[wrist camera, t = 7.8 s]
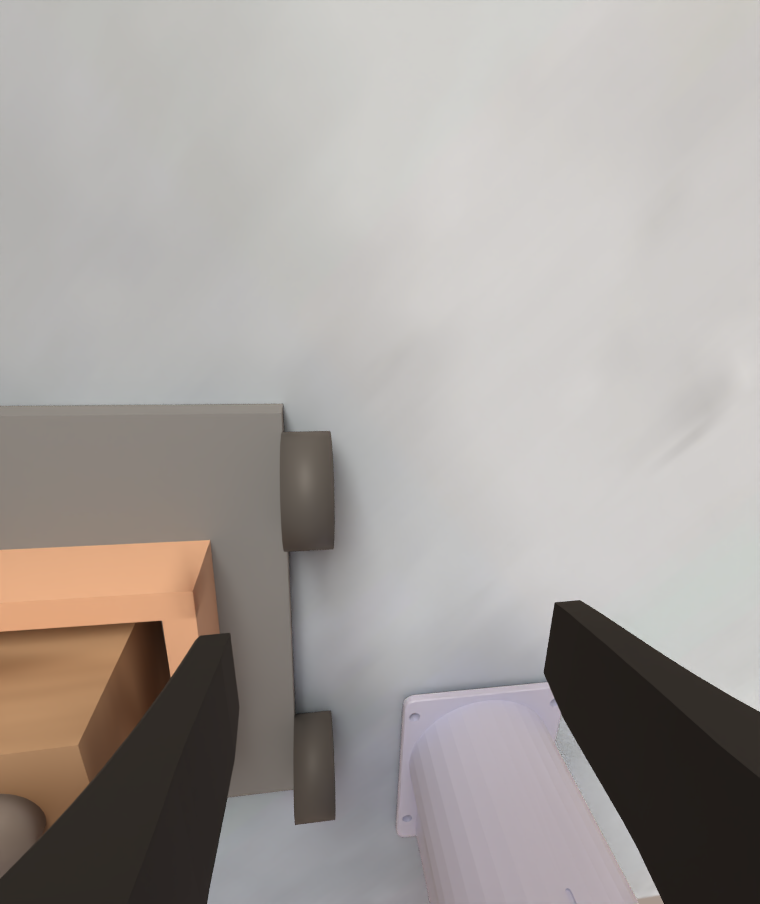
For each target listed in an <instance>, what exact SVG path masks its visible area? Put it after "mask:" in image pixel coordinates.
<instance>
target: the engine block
mask: <svg viewBox="0 0 760 904" xmlns="http://www.w3.org/2000/svg"><path fill="white" fill-rule="evenodd" d="M170 678H171V676H170V669H169V663H168V656H167V650H166V645H165V640H164V635H163V630H162V625H161V621H148V622H133V623H119V624H104V625H89V626H75V627H60V628H46V629H31V630H17V631H2V632H0V878H1V877H2V876H3V875H4V874H5V873H6V872H7V871H8V870H9V869H10V868H11V867H12V866H13V865H14V864H15V863H16V862H17V861H18V860H19V859H20V858H21V857H22V856H23V855H24V854H25V853H26V852H27V851H28V850H29V849H30V848H31V847H32V845H33V844H34V843H35V842H36V841H37V840H38V839H39V838H40V837H41V836H42V835H43V834H44V833H45V832H46V831H47V830H48V829H49V828H50V827H51V826H52V825H53V824H54V822H55V821H56V820H57V819H58V818H59V817H60V816H61V815H62V814H63V813H64V811H65V810H66V809H67V808H68V807H69V806H70V805H71V804H72V803H73V802H74V800H75V799H76V798H77V797H78V796H79V795H80V794H81V793H82V791H83V790H84V789H85V788H86V787H87V786H88V784H89V783H90V782H91V781H92V780H93V779H94V777H95V776H96V775H97V774H98V773H99V772H100V770H101V769H102V768H103V767H104V765H105V764H106V763H107V762H108V760H109V759H110V758H111V757H112V755H113V754H114V753H115V752H116V750H117V749H118V748H119V747H120V745H121V744H122V743H123V742H124V740H125V739H126V738H127V737H128V735H129V734H130V733H131V732H132V730H133V729H134V728H135V726H136V725H137V724H138V723H139V721H140V720H141V718H142V717H143V716H144V714H145V713H146V712H147V710H148V709H149V707H150V706H151V705H152V703H153V702H154V701H155V699H156V698H157V697H158V695H159V694H160V692H161V691H162V690H163V688H164V687H165V685H166V684H167V682H168V681H169V679H170Z"/></svg>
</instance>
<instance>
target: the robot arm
mask: <svg viewBox="0 0 760 904" xmlns="http://www.w3.org/2000/svg"><path fill="white" fill-rule="evenodd" d="M544 674H545V677H546V679H547V682H543V683H533V684H522V685H512V686H501V687H491V688H481V689H470V690H460V691H450V692H439V693H429V694H418V695H412V696H409V697H407V698H406V699H405V700H404V703H403V714H402V731H401V747H400V763H399V780H398V796H397V813H396V830H397V834H398V835H399V836H401V837H410V836H417V841H418V846H419V851H420V856H421V862H422V867H423V872H424V877H425V882H426V887H427V892H428V897H429V902H430V904H639V902H638V900H637V898H636V897H635V895H634V893H633V891H632V889H631V887H630V885H629V883H628V881H627V879H626V878H625V876H624V874H623V872H622V870H621V868H620V866H619V864H618V862H617V860H616V859H615V857H614V855H613V853H612V851H611V849H610V847H609V845H608V843H607V842H606V840H605V838H604V836H603V834H602V832H601V830H600V828H599V826H598V824H597V823H596V821H595V819H594V817H593V815H592V813H591V811H590V809H589V807H588V805H587V804H586V802H585V800H584V798H583V796H582V794H581V792H580V790H579V788H578V786H577V785H576V783H575V781H574V779H573V777H572V775H571V773H570V771H569V769H568V767H567V766H566V764H565V762H564V760H563V758H562V756H561V754H560V752H559V750H558V748H557V747H556V745H555V741H556V736H557V731H558V726H559V722H560V717H561V714H562V716H563V718H564V720H565V722H566V724H567V725H568V727H569V729H570V731H571V733H572V734H573V736H574V738H575V740H576V741H577V743H578V745H579V746H580V748H581V750H582V752H583V753H584V755H585V757H586V759H587V760H588V762H589V764H590V765H591V767H592V769H593V771H594V772H595V774H596V776H597V777H598V779H599V781H600V783H601V784H602V786H603V788H604V789H605V791H606V793H607V795H608V796H609V798H610V800H611V801H612V803H613V805H614V807H615V808H616V810H617V812H618V813H619V815H620V817H621V819H622V820H623V822H624V824H625V826H626V828H627V829H628V831H629V833H630V835H631V837H632V839H633V841H634V842H635V844H636V846H637V848H638V850H639V852H640V854H641V856H642V859H643V861H644V863H645V865H646V867H647V869H648V871H649V873H650V875H651V877H652V880H653V882H654V884H655V886H656V888H657V890H658V892H659V894H660V896H661V898H662V900H663V903H664V904H760V712H759V711H757V710H755V709H753V708H752V707H750V706H748V705H746V704H744V703H743V702H741V701H739V700H737V699H735V698H734V697H732V696H730V695H728V694H727V693H725V692H723V691H722V690H720V689H718V688H717V687H715V686H713V685H712V684H710V683H708V682H706V681H705V680H703V679H701V678H700V677H698V676H696V675H695V674H693V673H692V672H690V671H688V670H687V669H685V668H684V667H682V666H680V665H679V664H677V663H676V662H674V661H672V660H671V659H669V658H668V657H666V656H665V655H663V654H662V653H660V652H659V651H657V650H655V649H654V648H652V647H651V646H649V645H648V644H646V643H645V642H643V641H642V640H640V639H639V638H637V637H636V636H634V635H633V634H631V633H630V632H628V631H627V630H625V629H624V628H622V627H621V626H619V625H618V624H616V623H615V622H613V621H612V620H610V619H609V618H607V617H606V616H604V615H603V614H601V613H600V612H598V611H596V610H595V609H593V608H592V607H590V606H589V605H587V604H585V603H584V602H582V601H580V600H577V601H567V602H556V603H555V604H554V611H553V617H552V623H551V630H550V636H549V642H548V648H547V655H546V661H545V667H544ZM239 708H240V706H239V699H238V691H237V683H236V675H235V667H234V659H233V651H232V643H231V635H230V633H222V634H212V635H201V636H199V637H198V638H197V639H196V640H195V641H194V643H193V645H192V646H191V648H190V649H189V651H188V652H187V654H186V655H185V657H184V659H183V660H182V662H181V663H180V665H179V666H178V668H177V669H176V671H175V672H174V674H173V675H172V677H171V678H170V679H169V681H168V682H167V684H166V685H165V687H164V688H163V690H162V691H161V692H160V694H159V695H158V697H157V698H156V699H155V701H154V702H153V703H152V705H151V706H150V707H149V709H148V710H147V712H146V713H145V714H144V716H143V717H142V718H141V720H140V721H139V723H138V724H137V725H136V726H135V728H134V729H133V730H132V732H131V733H130V734H129V735H128V737H127V738H126V739H125V740H124V742H123V743H122V744H121V745H120V747H119V748H118V749H117V750H116V752H115V753H114V754H113V755H112V757H111V758H110V759H109V760H108V762H107V763H106V764H105V765H104V767H103V768H102V769H101V770H100V772H99V773H98V774H97V775H96V776H95V777H94V779H93V780H92V781H91V782H90V783H89V784H88V786H87V787H86V788H85V789H84V790H83V791H82V793H81V794H80V795H79V796H78V797H77V798H76V799H75V800H74V802H73V803H72V804H71V805H70V806H69V807H68V808H67V809H66V810H65V811H64V813H63V814H62V815H61V816H60V817H59V818H58V819H57V820H56V821H55V822H54V824H53V825H52V826H51V827H50V828H49V829H48V830H47V831H46V832H45V833H44V834H43V835H42V836H41V837H40V838H39V839H38V840H37V841H36V842H35V843H34V844H33V845H32V847H31V848H30V849H29V850H28V851H27V852H26V853H25V854H24V855H23V856H22V857H21V858H20V859H19V860H18V861H17V862H16V863H15V864H14V865H13V866H12V867H11V868H10V869H9V870H8V871H7V872H6V873H5V874H4V875H3V876H2V877H1V878H0V904H207V900H208V894H209V888H210V883H211V878H212V873H213V868H214V863H215V858H216V853H217V848H218V843H219V837H220V832H221V827H222V822H223V817H224V812H225V807H226V802H227V797H228V792H229V787H230V781H231V776H232V771H233V766H234V760H235V752H236V742H237V731H238V719H239ZM413 713H415V714H413Z"/></svg>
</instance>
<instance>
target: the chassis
mask: <svg viewBox="0 0 760 904" xmlns="http://www.w3.org/2000/svg"><path fill="white" fill-rule="evenodd" d="M334 525H335V515H334V472H333V453H332V440H331V433H330V431H309V432H284V421H283V404H203V405H82V406H0V632H2V631H17V630H31V629H46V628H60V627H75V626H89V625H104V624H119V623H133V622H148V621H161V625H162V630H163V635H164V640H165V645H166V650H167V656H168V663H169V669H170V676H171V677H172V675H173V674H174V672H175V671H176V669H177V668H178V666H179V665H180V663H181V662H182V660H183V659H184V657H185V655H186V654H187V652H188V651H189V649H190V648H191V646H192V645H193V643H194V641H195V640H196V639H197V638H198V637H199V636H201V635H212V634H222V633H230V635H231V643H232V651H233V659H234V667H235V675H236V683H237V691H238V699H239V706H240V708H239V719H238V731H237V742H236V752H235V760H234V766H233V771H232V776H231V781H230V787H229V792H228V797H235V796H244V795H252V794H260V793H269V792H277V791H285V790H293V789H294V818H295V825H298V824H306V823H314V822H321V821H329V820H335V773H334V749H333V730H332V716H331V711H322V712H312V713H302V714H295V693H294V668H293V643H292V619H291V594H290V569H289V552H290V551H310V550H329V549H333V548H334Z"/></svg>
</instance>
